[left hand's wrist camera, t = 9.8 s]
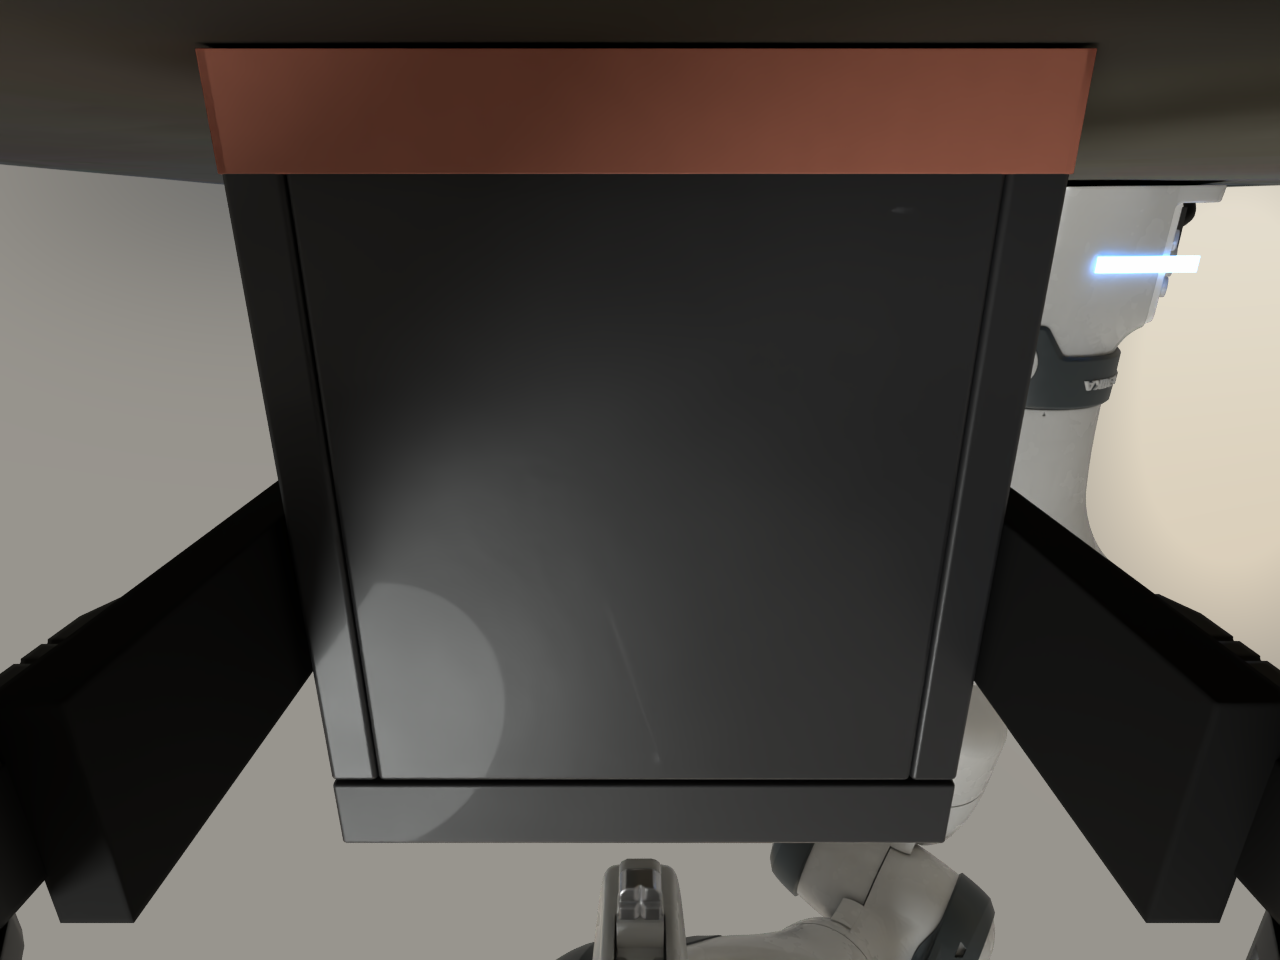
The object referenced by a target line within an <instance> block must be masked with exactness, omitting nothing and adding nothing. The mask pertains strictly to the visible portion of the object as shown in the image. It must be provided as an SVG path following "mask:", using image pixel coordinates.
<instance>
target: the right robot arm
mask: <svg viewBox="0 0 1280 960" xmlns="http://www.w3.org/2000/svg"><path fill="white" fill-rule="evenodd" d="M1226 187H1227V185H1188V186H1084V187H1067V188H1066V193H1065V198H1064V204H1063V209H1062V214H1061V220H1060V225H1059V230H1058V236H1057V241H1056V246H1055V252H1054V257H1053V262H1052V268H1051V273H1050V278H1049V284H1048V289H1047V294H1046V300H1045V305H1044V310H1043V316H1042V321H1041V326H1040V332H1039V337H1038V342H1037V348H1036V353H1035V358H1034V364H1033V369H1032V374H1031V380H1030V385H1029V390H1028V396H1027V401H1026V406H1025V412H1024V417H1023V422H1022V428H1021V433H1020V438H1019V444H1018V449H1017V454H1016V460H1015V465H1014V470H1013V476H1012V481H1011V486H1010V487H1011V488H1013V489H1014V490H1015V491H1017V492H1018V493H1019V494H1021V495H1022V496H1023V497H1025V498H1026V499H1027V500H1029V501H1030V502H1031V503H1033V504H1034V505H1035V506H1037V507H1038V508H1040V509H1041V510H1042V511H1044V512H1045V513H1046V514H1048V515H1049V516H1050V517H1052V518H1053V519H1054V520H1056V521H1057V522H1058V523H1060V524H1061V525H1062V526H1064V527H1065V528H1066V529H1068V530H1069V531H1070V532H1072V533H1073V534H1075V535H1076V536H1077V537H1079V538H1080V539H1081V540H1083V541H1084V542H1085V543H1087V544H1088V545H1089V546H1091V547H1092V548H1093V549H1095V550H1096V551H1097V552H1099V553H1100V554H1101V555H1103V556H1104V557H1105V558H1106V556H1105V555H1104V554H1103V553H1102V551H1101V550H1100V548H1099V547H1098V545H1097V543H1096V541H1095V539H1094V537H1093V534H1092V531H1091V529H1090V526H1089V521H1088V517H1087V510H1086V486H1087V478H1088V470H1089V463H1090V457H1091V450H1092V445H1093V440H1094V434H1095V429H1096V424H1097V420H1098V415H1099V410H1100V406H1101V404H1102V403H1104V402H1106V401H1107V400H1108V399H1109V396H1110V393H1111V389H1112V386H1113V384H1115V381H1116V377H1117V373H1118V372H1117V366H1118V362H1119V358H1120V354H1121V351H1120V349H1119V348H1118V347H1117V346H1118V345H1119V344H1120V342H1121V341H1122V340H1123V339H1124V338H1125V337H1126V336H1127V335H1129V334H1130V333H1131V332H1133V331H1135V330H1136V329H1138V328H1140V327H1142V326H1143V325H1144V324H1145V323H1148V322H1150V321H1152V319H1153V317H1154V314H1155V310H1156V306H1157V303H1158V299H1159V297H1164V295H1165V293H1166V289H1167V285H1168V277H1167V276H1170V275H1171V274H1172V272H1196V271H1197V267H1198V263H1199V259H1200V256H1177V249H1178V244H1179V240H1180V236H1181V232H1182V228H1183V226H1184V225H1186V224H1187V223H1188V222H1190V221H1191V220H1192V219H1193V217H1194V216H1195V212H1196V203H1202V202H1204V203H1206V202H1220V201H1221V200H1222V197H1223V195H1224V192H1225V189H1226ZM1182 206H1183V207H1182ZM1006 737H1007V727H1006V725H1005V724H1004V722H1003V721H1002V720H1001V718H1000V717H999V715H998V714H997V713H996V711H995V710H994V708H993V707H992V706H991V704H990V703H989V701H988V700H987V699H986V697H985V696H984V694H983V693H982V691H981V690H980V689H979V687H978V686H977V684H976V683H975V682H974V683H973V689H972V694H971V699H970V705H969V710H968V715H967V721H966V726H965V731H964V737H963V742H962V747H961V753H960V758H959V763H958V769H957V774H956V777H955V779H952V780H953V782H954V784H955V789H954V794H953V800H952V805H951V810H950V815H949V821H948V826H947V831H946V837H945V840H946V839H948V838H949V837H950V836H952V835H953V834H954V833H955V832H956V831H957V830H958V829H959V828H960V827H961V825H962V824H963V823H964V822H965V821H966V820H967V818H968V817H969V816H970V814H971V813H972V812H973V810H974V809H975V807H976V805H977V804H978V802H979V800H980V798H981V796H982V794H983V792H984V790H985V788H986V786H987V783H988V781H989V779H990V776H991V774H992V772H993V769H994V767H995V765H996V762H997V760H998V758H999V755H1000V753H1001V750H1002V748H1003V746H1004V743H1005V741H1006ZM918 844H920V845H933V844H937V843H772V851H771V855H770V860H771V866H772V871H773V873H774V874H775V876H776V877H777V878H778V879H779V881H780V882H781V883H782V884H783V885H784V886H785V887H786V888H787V889H788V890H789V891H790V892H791V893H792V894H793V895H794V896H797V895H799V896H800V897H802V898H803V899H804V900H805V901H806V902H807V903H808V904H809V905H810V906H812V907H813V908H814V909H815V910H816V911H817V912H819V913H820V914H821V915H822V916H823V917H814V918H808V919H804V920H802V921H798V922H796V923H794V924H792V925H790V926H788V927H786V928H785V929H783V930H782V931H778V932H771V933H764V934H755V935H730V936H721V935H714V936H692V937H685V928H684V919H683V911H682V902H681V895H680V889H679V883H678V879H677V876H676V873H675V872H674V870H673V869H672V868H671V867H669V866H666V865H660V863H659V862H658V861H656V860H654V859H626V860H624V861H622V862H621V864H620V865H614V866H611V867H610V868H608V870H607V871H606V872H605V875H604V878H603V881H602V886H601V892H600V899H599V907H598V916H597V924H596V933H595V942H593V943H589V944H586V945H583V946H581V947H579V948H576V949H574V950H572V951H570V952H568V953H566V954H565V955H563V956H561V957H560V958H558V959H557V960H989V959H990V957H991V954H992V950H993V945H994V937H995V930H994V920H993V918H994V914H995V912H994V909H993V906H992V902H991V899H990V898H989V897H988V895H987V894H986V893H985V892H984V891H983V890H982V889H981V888H980V887H979V886H977V885H976V884H975V883H974V882H973V881H972V880H970V879H969V878H968V877H967V876H965V875H964V874H963V873H961V874H959V875H958V874H957V873H956V872H955V871H953V870H952V869H951V868H949V867H948V866H947V865H946V864H944V863H943V862H942V861H940V860H939V859H937V858H936V857H935V856H933V855H932V854H931V853H929V852H928V851H926V850H925V849H923V848H922V847H920V846H919V845H918Z"/></svg>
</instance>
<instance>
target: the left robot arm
mask: <svg viewBox="0 0 1280 960" xmlns="http://www.w3.org/2000/svg"><path fill="white" fill-rule="evenodd" d="M312 672H313V667H312V662H311V656H310V651H309V645H308V640H307V634H306V629H305V624H304V618H303V613H302V607H301V602H300V596H299V591H298V585H297V580H296V574H295V569H294V563H293V558H292V552H291V547H290V541H289V536H288V530H287V525H286V519H285V514H284V508H283V503H282V497H281V492H280V487H279V481H277V482H276V483H274V484H273V485H271V486H270V487H269V488H267V489H266V490H265V491H263V492H262V493H261V494H259V495H258V496H257V497H255V498H254V499H253V500H251V501H250V502H249V503H247V504H246V505H245V506H243V507H242V508H241V509H239V510H238V511H236V512H235V513H234V514H232V515H231V516H230V517H228V518H227V519H226V520H224V521H223V522H222V523H220V524H219V525H218V526H216V527H215V528H214V529H212V530H211V531H210V532H208V533H207V534H205V535H204V536H203V537H201V538H200V539H199V540H198V541H196V542H195V543H193V544H192V545H191V546H189V547H188V548H187V549H185V550H184V551H183V552H181V553H180V554H179V555H177V556H176V557H175V558H173V559H172V560H171V561H169V562H168V563H166V564H165V565H164V566H162V567H161V568H160V569H158V570H157V571H156V572H154V573H153V574H152V575H150V576H149V577H148V578H146V579H145V580H144V581H142V582H141V583H140V584H138V585H137V586H135V587H134V588H133V589H131V590H130V591H129V592H127V593H126V594H125V595H123V596H122V597H120V598H118V599H116V600H114V601H112V602H110V603H108V604H105V605H103V606H101V607H99V608H97V609H95V610H92V611H90V612H88V613H86V614H84V615H82V616H80V617H78V618H77V619H76V620H74V621H73V622H71V623H70V624H69V625H67V626H66V627H64V628H63V629H62V630H60V631H59V632H57V633H56V634H55V635H53V636H52V637H51V638H49V639H48V643H47V644H41V645H39V646H38V647H37V648H35V649H34V650H33V651H31V652H30V653H28V654H27V655H26V656H24V657H23V658H21V663H20V664H13V665H12V666H10V667H9V668H8V669H6V670H5V671H4V672H2V673H1V674H0V960H22V955H23V950H24V941H23V934H22V929H21V926H20V924H19V921H18V919H17V916H16V914H15V913H16V912H17V910H18V909H19V908H20V907H21V906H22V905H23V904H24V903H25V901H26V900H27V899H28V898H29V897H30V896H31V895H32V894H33V892H34V891H35V890H36V889H37V888H38V887H39V886H40V885H41V884H42V882H43V881H44V880H45V882H46V885H47V888H48V891H49V893H50V896H51V899H52V901H53V904H54V907H55V909H56V912H57V915H58V917H59V920H60V922H61V923H134V922H135V920H136V919H137V918H138V916H139V915H140V913H141V912H142V911H143V909H144V908H145V906H146V905H147V904H148V902H149V901H150V899H151V898H152V897H153V895H154V894H155V892H156V891H157V889H158V888H159V887H160V885H161V884H162V883H163V881H164V880H165V878H166V877H167V875H168V874H169V873H170V871H171V870H172V868H173V867H174V866H175V864H176V863H177V861H178V860H179V859H180V857H181V856H182V854H183V853H184V852H185V850H186V849H187V847H188V846H189V845H190V843H191V842H192V840H193V839H194V838H195V836H196V835H197V833H198V832H199V831H200V829H201V828H202V826H203V825H204V824H205V822H206V821H207V819H208V818H209V816H210V815H211V814H212V812H213V811H214V809H215V808H216V807H217V805H218V804H219V802H220V801H221V800H222V798H223V797H224V795H225V794H226V793H227V791H228V790H229V788H230V787H231V786H232V784H233V783H234V781H235V780H236V779H237V777H238V776H239V774H240V773H241V772H242V770H243V769H244V767H245V766H246V765H247V763H248V762H249V760H250V759H251V757H252V756H253V755H254V753H255V752H256V750H257V749H258V748H259V746H260V745H261V743H262V742H263V741H264V739H265V738H266V736H267V735H268V734H269V732H270V731H271V729H272V728H273V727H274V725H275V724H276V722H277V721H278V719H279V718H280V717H281V715H282V714H283V712H284V711H285V710H286V708H287V707H288V706H289V704H290V703H291V701H292V700H293V698H294V697H295V696H296V694H297V693H298V691H299V690H300V689H301V687H302V686H303V684H304V683H305V682H306V680H307V679H308V677H309V676H310V675H311V673H312ZM974 682H975V683H976V684H977V686H978V687H979V689H980V690H981V691H982V693H983V694H984V696H985V697H986V699H987V700H988V701H989V703H990V704H991V706H992V707H993V708H994V710H995V711H996V713H997V714H998V715H999V717H1000V718H1001V720H1002V721H1003V722H1004V724H1005V725H1006V727H1007V728H1008V729H1009V731H1010V732H1011V733H1012V735H1013V736H1014V738H1015V739H1016V741H1017V742H1018V743H1019V745H1020V746H1021V748H1022V749H1023V750H1024V752H1025V753H1026V755H1027V756H1028V758H1029V759H1030V760H1031V762H1032V763H1033V764H1034V766H1035V767H1036V769H1037V770H1038V772H1039V773H1040V774H1041V776H1042V777H1043V778H1044V780H1045V781H1046V783H1047V784H1048V786H1049V787H1050V788H1051V790H1052V791H1053V793H1054V794H1055V795H1056V797H1057V798H1058V800H1059V801H1060V802H1061V804H1062V805H1063V807H1064V808H1065V810H1066V811H1067V812H1068V814H1069V815H1070V817H1071V818H1072V819H1073V821H1074V822H1075V823H1076V825H1077V826H1078V828H1079V829H1080V831H1081V832H1082V833H1083V835H1084V836H1085V838H1086V839H1087V840H1088V842H1089V843H1090V845H1091V846H1092V847H1093V849H1094V850H1095V852H1096V853H1097V854H1098V856H1099V857H1100V859H1101V860H1102V861H1103V863H1104V864H1105V866H1106V867H1107V869H1108V870H1109V871H1110V873H1111V874H1112V876H1113V877H1114V878H1115V880H1116V881H1117V883H1118V884H1119V885H1120V887H1121V888H1122V890H1123V891H1124V892H1125V894H1126V895H1127V897H1128V898H1129V899H1130V901H1131V902H1132V904H1133V905H1134V906H1135V908H1136V909H1137V911H1138V912H1139V913H1140V915H1141V916H1142V918H1143V919H1144V920H1145V922H1146V923H1219V922H1220V920H1221V917H1222V915H1223V912H1224V909H1225V907H1226V904H1227V901H1228V898H1229V896H1230V893H1231V890H1232V888H1233V885H1234V882H1235V880H1236V877H1237V878H1238V879H1239V880H1240V881H1241V883H1242V884H1243V885H1244V886H1245V887H1246V888H1247V889H1248V890H1249V891H1250V893H1251V894H1252V895H1253V896H1254V897H1255V898H1256V899H1257V900H1258V901H1259V903H1260V904H1261V905H1262V906H1263V907H1264V908H1265V909H1266V911H1265V914H1264V916H1263V919H1262V921H1261V924H1260V926H1259V929H1258V931H1257V934H1256V936H1255V938H1254V941H1253V944H1252V946H1251V948H1250V951H1249V953H1248V956H1247V959H1246V960H1280V670H1279V669H1278V668H1276V667H1275V666H1273V665H1272V664H1271V663H1269V662H1268V661H1261V660H1260V656H1259V655H1258V654H1257V653H1255V652H1254V651H1253V650H1251V649H1250V648H1248V647H1247V646H1246V645H1244V644H1243V643H1241V642H1240V641H1234V640H1233V636H1232V635H1230V634H1229V633H1227V632H1226V631H1225V630H1223V629H1222V628H1220V627H1219V626H1218V625H1216V624H1215V623H1213V622H1212V621H1211V620H1209V619H1208V618H1206V617H1205V616H1204V615H1202V614H1201V613H1199V612H1196V611H1194V610H1192V609H1190V608H1188V607H1186V606H1183V605H1181V604H1179V603H1177V602H1175V601H1173V600H1170V599H1168V598H1166V597H1164V596H1162V595H1160V594H1154V593H1153V592H1151V591H1150V590H1148V589H1147V588H1146V587H1145V586H1143V585H1142V584H1140V583H1139V582H1138V581H1136V580H1135V579H1134V578H1132V577H1131V576H1130V575H1128V574H1127V573H1126V572H1124V571H1123V570H1122V569H1120V568H1119V567H1118V566H1116V565H1115V564H1114V563H1112V562H1111V561H1110V560H1108V559H1107V558H1105V557H1104V556H1103V555H1101V554H1100V553H1099V552H1097V551H1096V550H1095V549H1093V548H1092V547H1091V546H1089V545H1088V544H1087V543H1085V542H1084V541H1083V540H1081V539H1080V538H1079V537H1077V536H1076V535H1075V534H1073V533H1072V532H1070V531H1069V530H1068V529H1066V528H1065V527H1064V526H1062V525H1061V524H1060V523H1058V522H1057V521H1056V520H1054V519H1053V518H1052V517H1050V516H1049V515H1048V514H1046V513H1045V512H1044V511H1042V510H1041V509H1040V508H1038V507H1037V506H1035V505H1034V504H1033V503H1031V502H1030V501H1029V500H1027V499H1026V498H1025V497H1023V496H1022V495H1021V494H1019V493H1018V492H1017V491H1015V490H1014V489H1013V488H1011V487H1010V492H1009V497H1008V502H1007V508H1006V513H1005V518H1004V524H1003V529H1002V534H1001V540H1000V545H999V550H998V556H997V561H996V566H995V572H994V577H993V582H992V587H991V593H990V598H989V603H988V609H987V614H986V619H985V625H984V630H983V635H982V641H981V646H980V651H979V657H978V662H977V667H976V673H975V678H974Z"/></svg>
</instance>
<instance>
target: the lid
mask: <svg viewBox="0 0 1280 960" xmlns="http://www.w3.org/2000/svg"><path fill="white" fill-rule="evenodd" d="M954 789H955V784H954V782H953V780H915V779H912V778H911V777H910V775H909V777H908V779H905V780H418V779H381V778H380V776H379V775H378V777H377V778H375V779H336V780H335V782H334V792H335V797H336V803H337V808H338V814H339V819H340V825H341V830H342V836H343V841H344V842H346V843H943V842H944V841H945V837H946V831H947V826H948V821H949V815H950V810H951V805H952V800H953V794H954Z"/></svg>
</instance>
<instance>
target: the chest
mask: <svg viewBox="0 0 1280 960" xmlns="http://www.w3.org/2000/svg"><path fill="white" fill-rule="evenodd" d="M195 51H196V57H197V62H198V67H199V73H200V78H201V84H202V89H203V95H204V100H205V105H206V111H207V116H208V122H209V127H210V132H211V138H212V143H213V149H214V154H215V160H216V165H217V170H218V173H219V174H223V180H224V185H225V191H226V196H227V202H228V207H229V213H230V218H231V223H232V229H233V234H234V240H235V245H236V251H237V256H238V262H239V267H240V273H241V278H242V284H243V289H244V295H245V300H246V306H247V311H248V316H249V322H250V328H251V333H252V338H253V344H254V350H255V355H256V360H257V366H258V371H259V377H260V382H261V388H262V393H263V399H264V404H265V410H266V415H267V421H268V426H269V432H270V437H271V442H272V448H273V453H274V459H275V465H276V470H277V476H278V481H279V487H280V492H281V497H282V503H283V508H284V514H285V519H286V525H287V530H288V536H289V541H290V547H291V552H292V558H293V563H294V569H295V574H296V580H297V585H298V591H299V596H300V602H301V607H302V613H303V618H304V624H305V629H306V634H307V640H308V645H309V651H310V656H311V662H312V667H313V673H314V678H315V684H316V689H317V695H318V700H319V706H320V711H321V717H322V722H323V728H324V733H325V738H326V744H327V750H328V755H329V761H330V766H331V771H332V776H333V778H334V779H375V778H377V777H378V775H379V776H380V778H381V779H418V780H905V779H908V777H909V775H910V777H911V778H912V779H915V780H952V779H955V777H956V774H957V769H958V763H959V758H960V753H961V747H962V742H963V737H964V731H965V726H966V721H967V715H968V710H969V705H970V699H971V694H972V689H973V683H974V678H975V673H976V667H977V662H978V657H979V651H980V646H981V641H982V635H983V630H984V625H985V619H986V614H987V609H988V603H989V598H990V593H991V587H992V582H993V577H994V572H995V566H996V561H997V556H998V550H999V545H1000V540H1001V534H1002V529H1003V524H1004V518H1005V513H1006V508H1007V502H1008V497H1009V492H1010V486H1011V481H1012V476H1013V470H1014V465H1015V460H1016V454H1017V449H1018V444H1019V438H1020V433H1021V428H1022V422H1023V417H1024V412H1025V406H1026V401H1027V396H1028V390H1029V385H1030V380H1031V374H1032V369H1033V364H1034V358H1035V353H1036V348H1037V342H1038V337H1039V332H1040V326H1041V321H1042V316H1043V310H1044V305H1045V300H1046V294H1047V289H1048V284H1049V278H1050V273H1051V268H1052V262H1053V257H1054V252H1055V246H1056V241H1057V236H1058V230H1059V225H1060V220H1061V214H1062V209H1063V204H1064V198H1065V193H1066V188H1067V182H1068V177H1069V174H1073V173H1074V168H1075V163H1076V158H1077V153H1078V147H1079V142H1080V137H1081V131H1082V126H1083V121H1084V116H1085V110H1086V105H1087V100H1088V94H1089V89H1090V84H1091V79H1092V73H1093V68H1094V63H1095V58H1096V52H1097V48H196V49H195Z"/></svg>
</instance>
